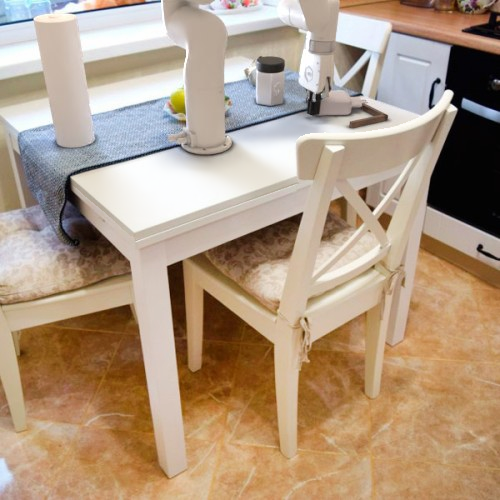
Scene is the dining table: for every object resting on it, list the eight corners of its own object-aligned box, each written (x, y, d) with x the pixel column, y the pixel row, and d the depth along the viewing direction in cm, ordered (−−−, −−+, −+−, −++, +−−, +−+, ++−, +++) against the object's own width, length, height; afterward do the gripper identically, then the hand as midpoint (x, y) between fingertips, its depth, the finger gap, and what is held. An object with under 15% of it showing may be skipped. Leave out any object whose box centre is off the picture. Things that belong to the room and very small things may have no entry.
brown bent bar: (351, 128, 157) (352, 122, 156) (305, 102, 173) (305, 97, 173) (387, 120, 162) (388, 115, 161) (339, 95, 178) (339, 91, 178)
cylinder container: (61, 150, 144) (37, 21, 127) (53, 136, 151) (29, 13, 134) (99, 143, 147) (81, 17, 131) (89, 130, 154) (70, 9, 138)
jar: (264, 108, 169) (265, 66, 162) (249, 99, 175) (249, 59, 168) (289, 102, 173) (291, 61, 166) (273, 94, 179) (275, 54, 172)
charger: (370, 115, 165) (317, 117, 164) (362, 104, 172) (311, 105, 171) (372, 99, 162) (318, 100, 161) (364, 88, 170) (312, 89, 169)
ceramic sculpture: (242, 60, 177) (244, 50, 190) (242, 89, 182) (244, 77, 194) (278, 61, 177) (277, 51, 190) (277, 90, 181) (276, 78, 194)
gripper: (292, 40, 157) (287, 107, 166) (325, 54, 146) (317, 125, 156) (315, 38, 160) (309, 104, 170) (349, 51, 149) (340, 121, 159)
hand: (312, 114), depth 163 cm, fingers closed
